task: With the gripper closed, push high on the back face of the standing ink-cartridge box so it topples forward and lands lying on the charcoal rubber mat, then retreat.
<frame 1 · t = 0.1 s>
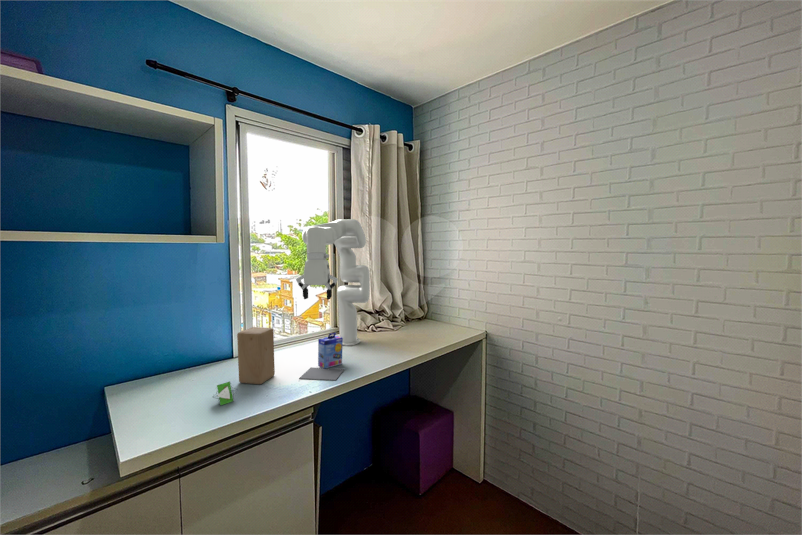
hand: (317, 298, 140), 31 cm above the table, fingers open, 9 cm apart
geometric puzzle: (225, 403, 115), on the table
mat: (322, 374, 140), on the table
ink cartridge box: (330, 365, 150), on the table, touching mat
wooden block: (257, 379, 135), on the table
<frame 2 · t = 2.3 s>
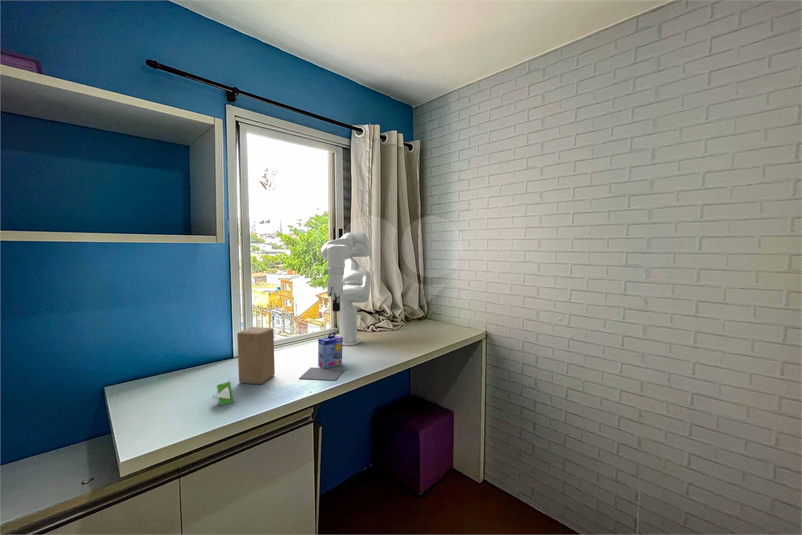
hand: (336, 311, 158), 23 cm above the table, fingers closed
nothing on the table moved.
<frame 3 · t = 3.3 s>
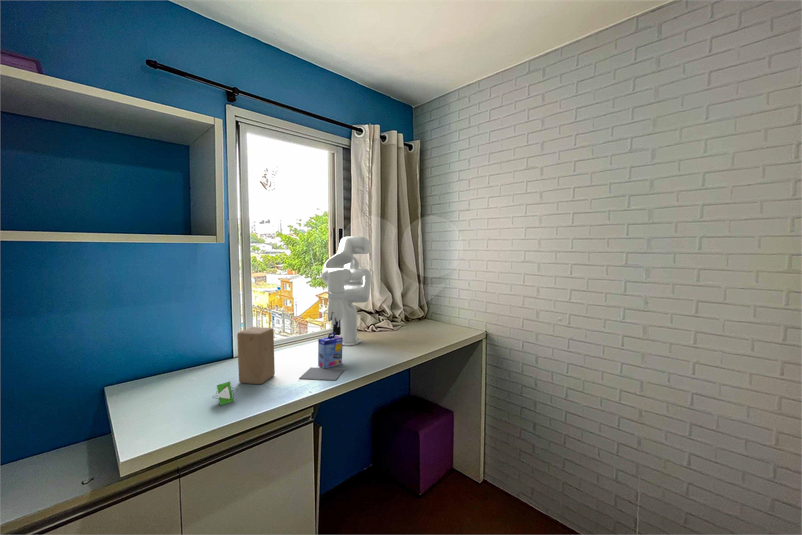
hand: (336, 334, 159), 11 cm above the table, fingers closed
nothing on the table moved.
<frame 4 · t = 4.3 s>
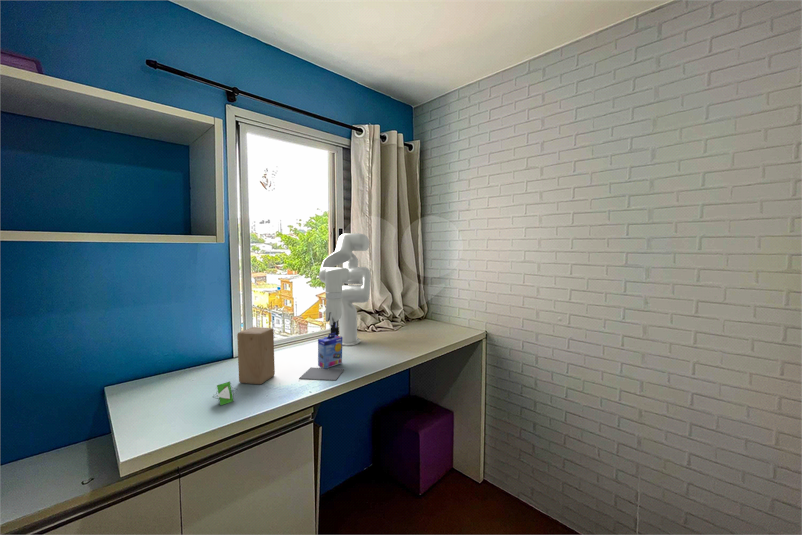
hand: (334, 335, 155), 12 cm above the table, fingers closed
ink cartridge box: (330, 365, 150), on the table, touching gripper, mat
everything else where it was.
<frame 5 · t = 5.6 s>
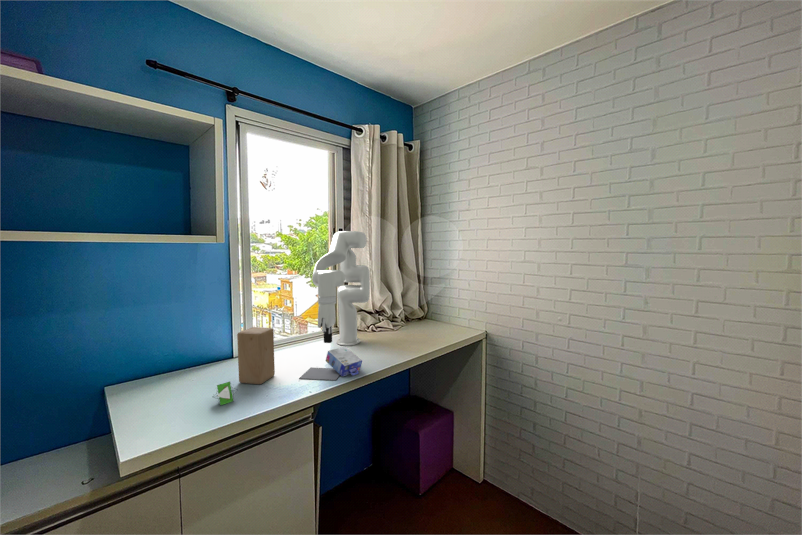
hand: (328, 342, 147), 11 cm above the table, fingers closed
ink cartridge box: (335, 353, 147), point 6 cm above the table
everything else where it was.
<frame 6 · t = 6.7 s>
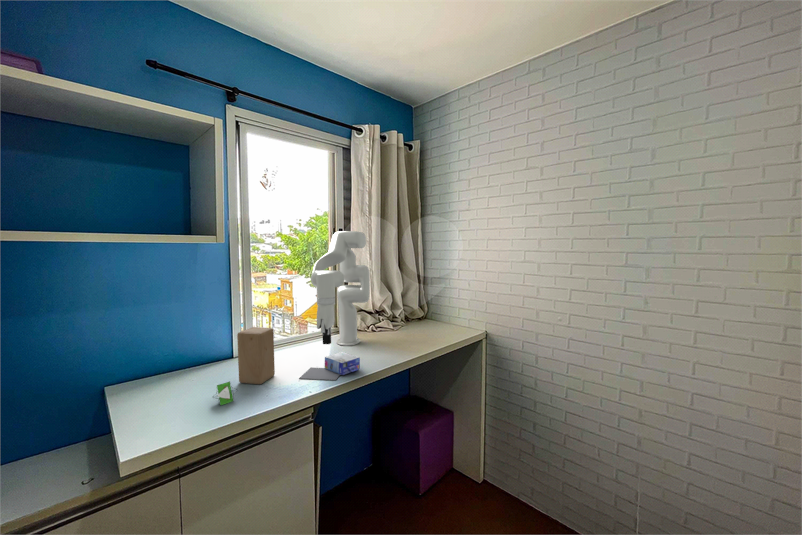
hand: (327, 343, 145), 11 cm above the table, fingers closed
ink cartridge box: (333, 360, 149), point 3 cm above the table, touching mat
everything else where it was.
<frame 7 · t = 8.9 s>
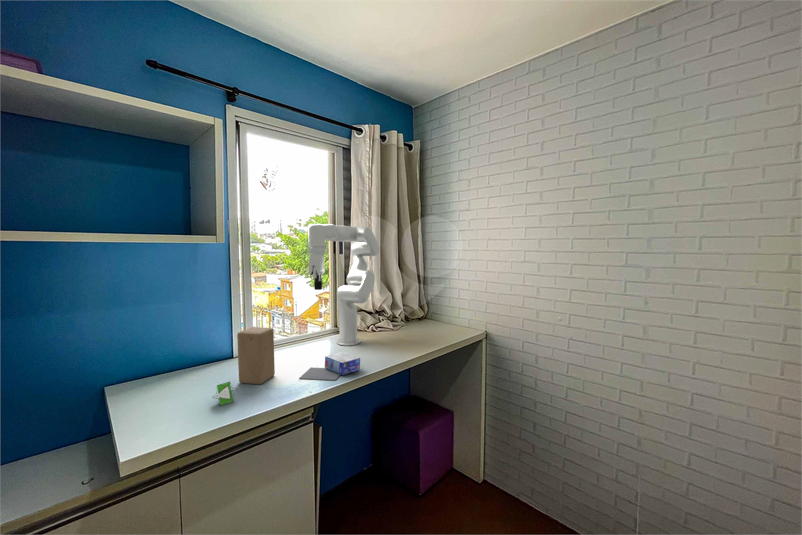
hand: (318, 289, 161), 32 cm above the table, fingers closed
nothing on the table moved.
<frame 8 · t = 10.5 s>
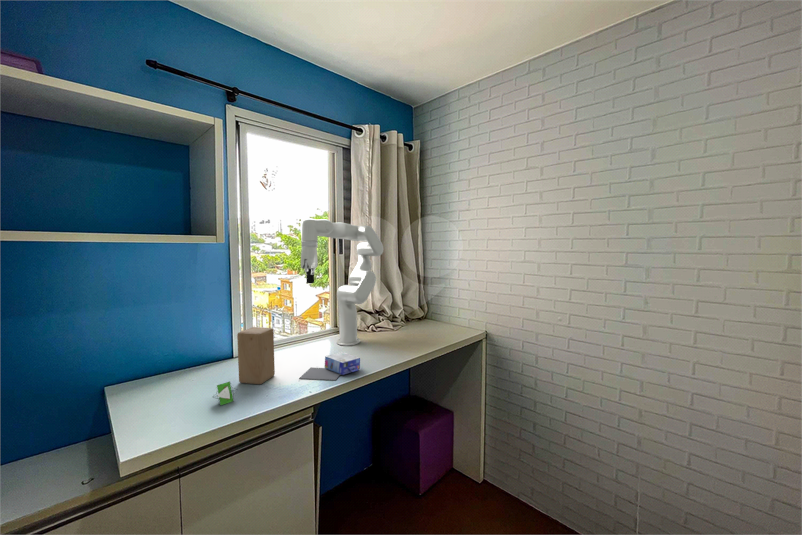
hand: (310, 283, 163), 35 cm above the table, fingers closed
nothing on the table moved.
at the end: ink cartridge box tilted 89°; ink cartridge box inside the target area (9.6 cm from its centre), point 3.0 cm above the table; ink cartridge box 9.1 cm from the mat (horizontally) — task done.
